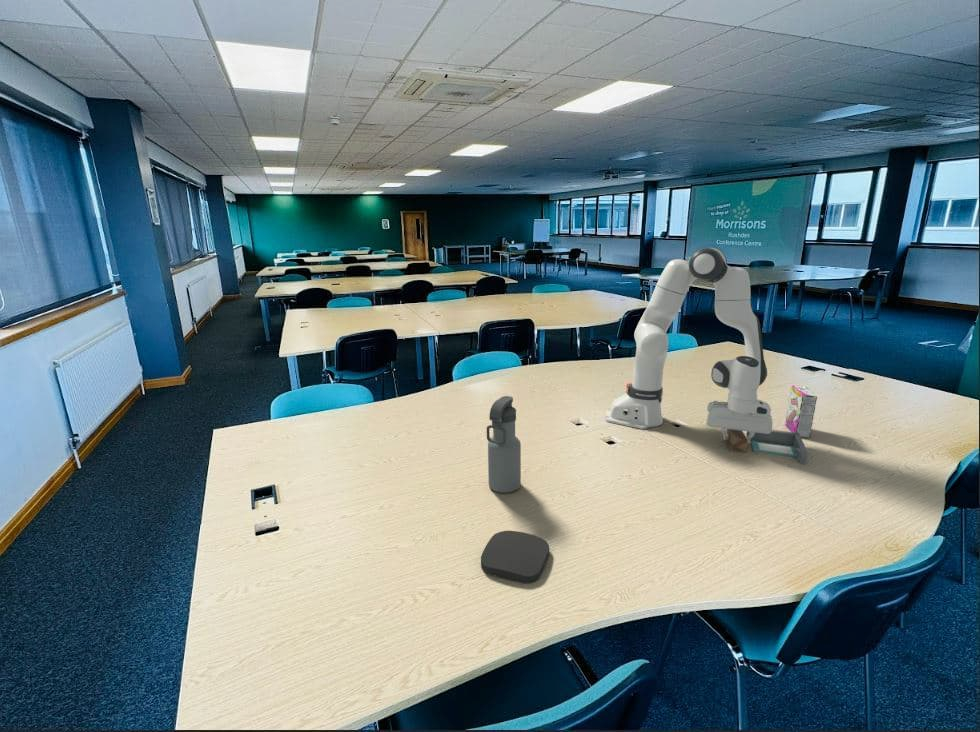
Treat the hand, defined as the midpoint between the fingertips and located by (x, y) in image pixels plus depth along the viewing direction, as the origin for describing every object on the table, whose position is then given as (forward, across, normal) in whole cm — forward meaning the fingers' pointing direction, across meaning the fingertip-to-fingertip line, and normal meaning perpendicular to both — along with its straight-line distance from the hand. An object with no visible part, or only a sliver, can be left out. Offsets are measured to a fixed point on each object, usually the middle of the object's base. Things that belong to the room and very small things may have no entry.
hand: (736, 440), depth 170 cm
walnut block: (+2, 0, 0) cm, 2 cm away
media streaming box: (+3, -53, -83) cm, 99 cm away
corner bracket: (+2, +12, +1) cm, 12 cm away
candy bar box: (+2, +22, +21) cm, 31 cm away
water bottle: (+2, -67, -53) cm, 85 cm away
